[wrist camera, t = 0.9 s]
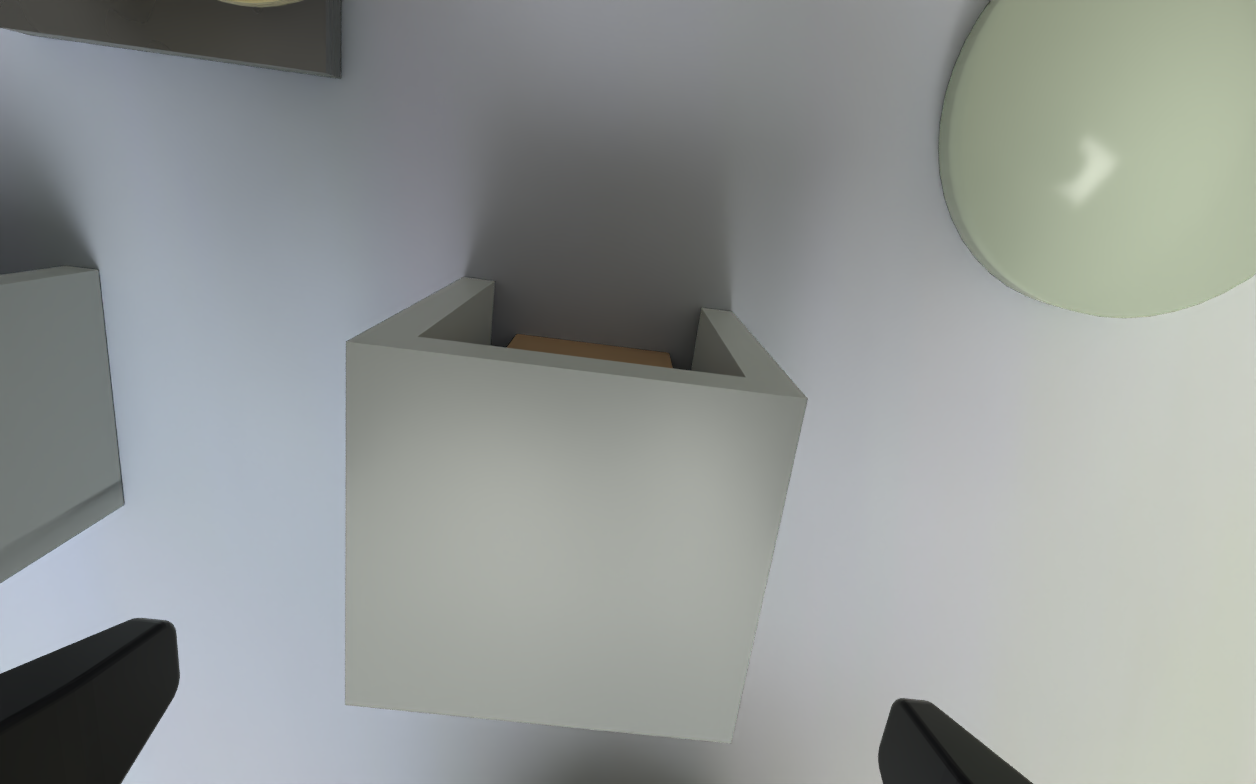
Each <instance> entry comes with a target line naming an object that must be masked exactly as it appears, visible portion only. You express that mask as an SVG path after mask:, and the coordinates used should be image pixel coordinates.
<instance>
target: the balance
mask: <svg viewBox="0 0 1256 784" xmlns="http://www.w3.org/2000/svg"><path fill="white" fill-rule="evenodd" d="M0 28H4V29H8V30H12V31H15V32H19V33H23V34H27V35H32V36H39V37H46V38H53V39H60V40H68V41H75V42H82V43H89V44H96V45H103V46H110V47H117V48H124V49H132V50H139V51H146V52H153V53H160V54H167V55H174V56H181V57H188V58H196V59H203V60H210V61H217V62H224V63H231V64H238V65H245V66H253V67H260V68H267V69H274V70H281V71H288V72H295V73H302V74H309V75H317V76H324V77H331V78H338V79H341V0H0Z"/></svg>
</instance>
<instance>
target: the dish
mask: <svg viewBox="0 0 1256 784" xmlns="http://www.w3.org/2000/svg"><path fill="white" fill-rule="evenodd" d="M938 148H939V166H940V176H941V182H942V187H943V192H944V197H945V200H946V203H947V206H948V209H949V212H950V215H951V218H952V221H953V223H954V225H955V227H956V228H957V230H958V232H959V234H960V236H961V238H962V240H963V242H964V243H965V244H966V246H967V247H968V249H969V250H970V251H971V253H972V254H973V256H974V257H975V258H976V259H977V260H978V261H979V262H980V263H981V264H982V265H983V266H984V268H985V269H986V270H987V271H988V272H989V273H990V274H992V275H993V276H994V277H996V278H997V279H998V280H1000V281H1001V282H1002V283H1004V284H1005V285H1006V286H1008V287H1010V288H1012V289H1013V290H1015V291H1017V292H1019V293H1021V294H1023V295H1025V296H1027V297H1029V298H1032V299H1035V300H1038V301H1041V302H1043V303H1046V304H1050V305H1053V306H1057V307H1061V308H1064V309H1068V310H1072V311H1075V312H1079V313H1084V314H1089V315H1094V316H1099V317H1112V318H1135V317H1150V316H1155V315H1160V314H1165V313H1171V312H1175V311H1178V310H1182V309H1185V308H1188V307H1191V306H1194V305H1197V304H1200V303H1203V302H1205V301H1207V300H1209V299H1212V298H1214V297H1216V296H1219V295H1221V294H1223V293H1225V292H1227V291H1229V290H1230V289H1232V288H1234V287H1236V286H1237V285H1239V284H1241V283H1243V282H1244V281H1246V280H1248V279H1250V278H1251V277H1252V276H1254V275H1255V274H1256V0H991V1H990V2H989V4H988V5H987V6H986V8H985V9H984V10H983V12H982V13H981V15H980V16H979V18H978V20H977V22H976V23H975V25H974V27H973V28H972V30H971V32H970V34H969V35H968V37H967V39H966V41H965V43H964V45H963V48H962V50H961V52H960V54H959V57H958V59H957V61H956V63H955V66H954V68H953V72H952V75H951V78H950V81H949V84H948V88H947V91H946V94H945V99H944V104H943V110H942V115H941V120H940V133H939V147H938Z"/></svg>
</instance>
